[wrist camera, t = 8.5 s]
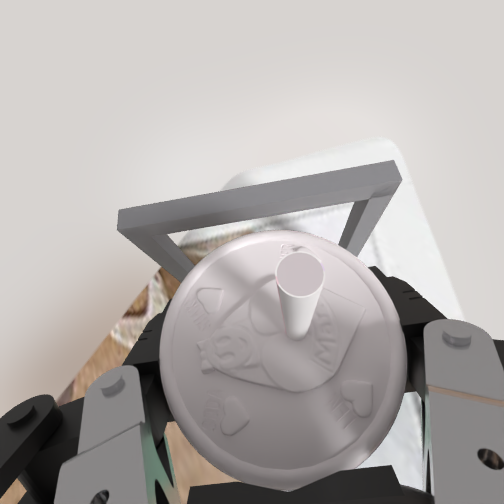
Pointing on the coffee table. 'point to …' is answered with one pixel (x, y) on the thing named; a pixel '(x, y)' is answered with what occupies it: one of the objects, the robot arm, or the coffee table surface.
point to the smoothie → (283, 359)
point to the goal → (263, 209)
